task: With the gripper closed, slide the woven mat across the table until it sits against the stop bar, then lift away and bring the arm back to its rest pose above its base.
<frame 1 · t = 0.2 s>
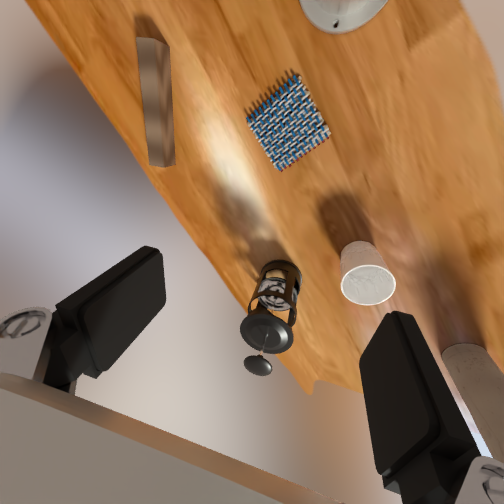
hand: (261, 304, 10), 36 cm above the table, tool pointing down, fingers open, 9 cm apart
french press: (279, 278, 52), on the table
stop bar: (165, 110, 41), on the table
thermos bottle: (463, 355, 50), on the table
white cup: (358, 255, 45), on the table
woven mat: (288, 128, 38), on the table
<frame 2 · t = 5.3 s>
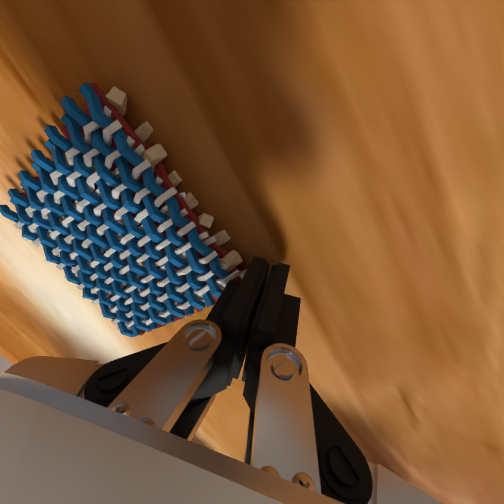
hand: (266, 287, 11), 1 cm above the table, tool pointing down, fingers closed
woven mat: (141, 235, 13), on the table, touching gripper
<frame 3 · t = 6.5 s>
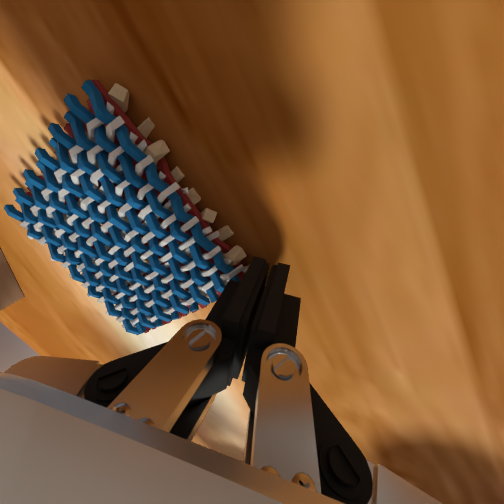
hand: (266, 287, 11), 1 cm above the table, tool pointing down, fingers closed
woven mat: (145, 233, 13), on the table, touching gripper
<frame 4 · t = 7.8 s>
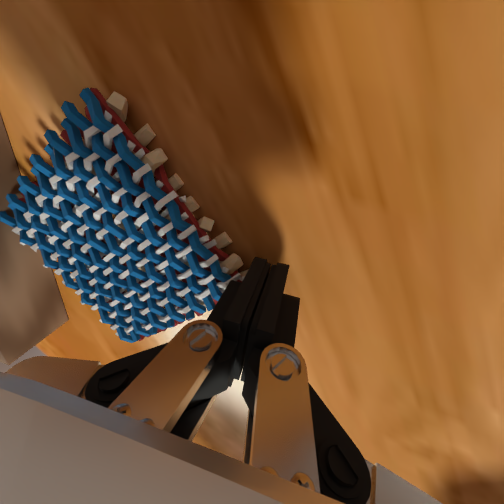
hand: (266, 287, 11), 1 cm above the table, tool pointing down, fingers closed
stop bar: (10, 203, 13), on the table
woven mat: (141, 239, 13), on the table, touching gripper, stop bar
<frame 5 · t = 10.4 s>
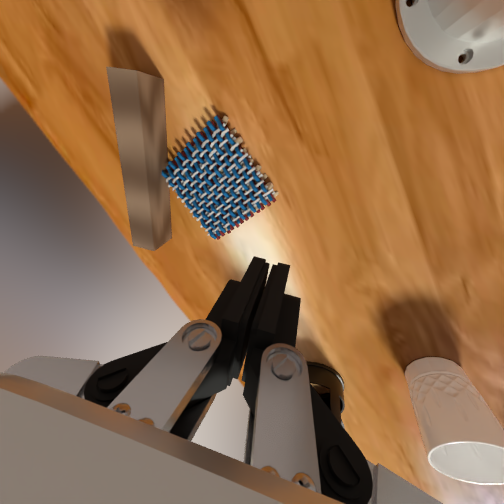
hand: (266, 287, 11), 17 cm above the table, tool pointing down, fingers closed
french press: (311, 380, 39), on the table
stop bar: (157, 169, 28), on the table
white cup: (432, 371, 32), on the table
woven mat: (222, 183, 27), on the table
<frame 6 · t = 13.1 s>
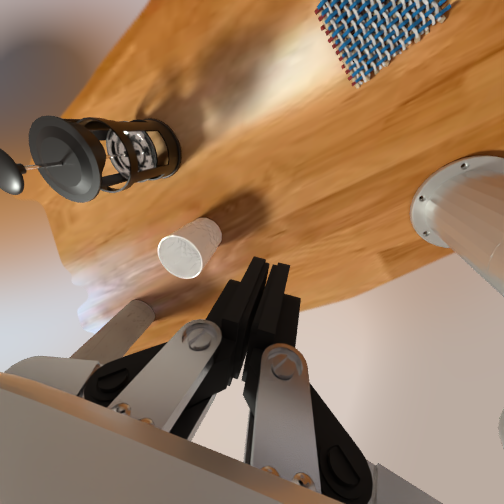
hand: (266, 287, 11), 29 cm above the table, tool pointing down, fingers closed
french press: (155, 147, 40), on the table
thermos bottle: (142, 310, 62), on the table
white cup: (206, 233, 45), on the table
woven mat: (375, 15, 26), on the table
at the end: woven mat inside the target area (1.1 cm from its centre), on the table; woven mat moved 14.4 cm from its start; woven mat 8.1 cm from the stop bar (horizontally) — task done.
